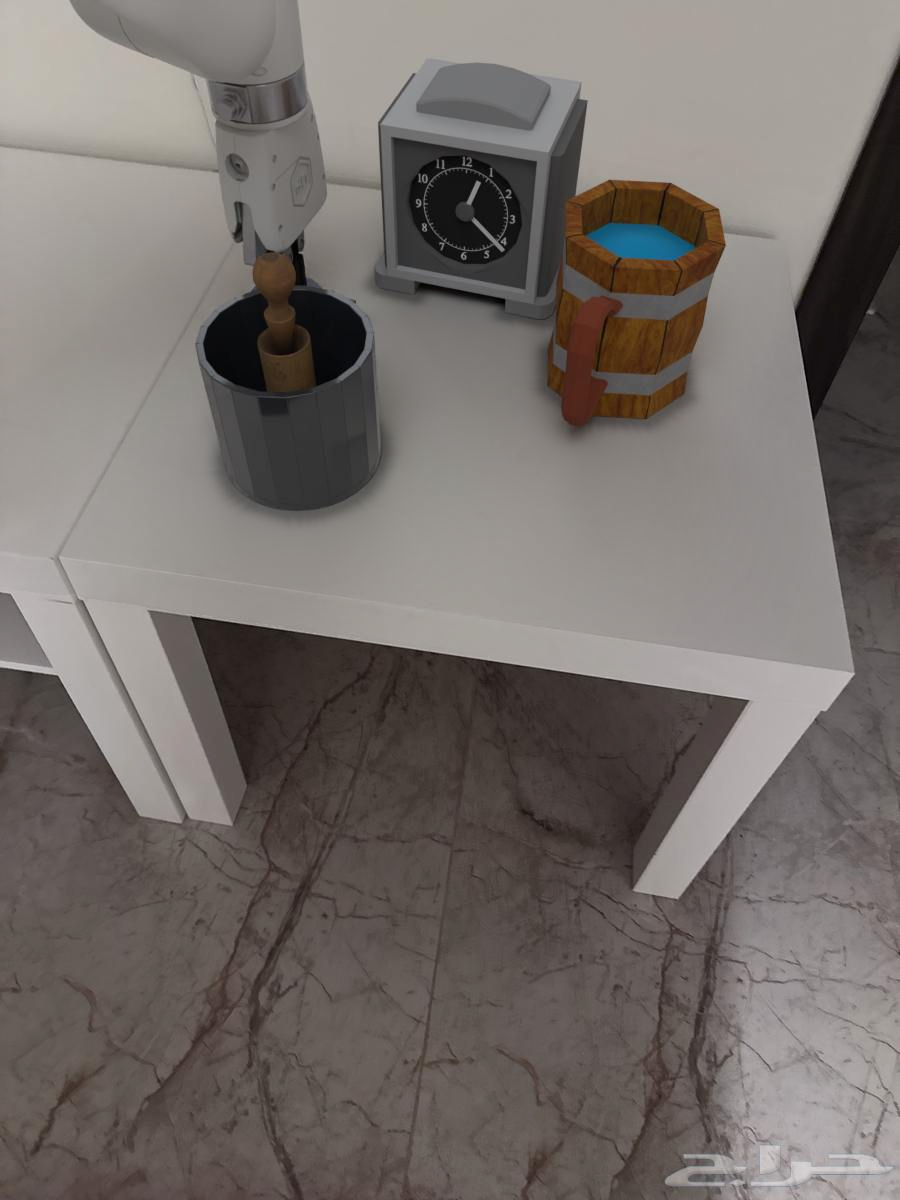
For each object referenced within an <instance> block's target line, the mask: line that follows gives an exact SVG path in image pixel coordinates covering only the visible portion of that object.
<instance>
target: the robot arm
mask: <svg viewBox="0 0 900 1200" xmlns="http://www.w3.org/2000/svg"><path fill="white" fill-rule="evenodd" d="M69 3H70V5H71V7H72V8H73V10H74V11H75V13H76V14H77V16H78V18H80V19H81V20H82V22H83V23H84V24H85V25H86V26H87V27H89V28H90V29H91V30H92V31H94V32H95V33H96V34H97V35H99V36H101V37H102V38H104V39H106V40H108V41H110V42H112V43H114V44H118V45H119V46H122V47H124V48H126V49H129V50H131V51H134V52H136V53H139V54H142V55H144V56H147V57H150V58H152V59H156V60H158V61H161V62H164V63H166V64H168V65H171V66H172V67H173V66H174V67H177V68H179V69H181V70H184V71H186V72H187V73H191V74H193V75H195V76H198V77H199V78H203V79H205V84H206V88H207V93H208V98H209V104H210V109H211V113H212V116H213V117H214V119H215V123H214V126H215V127H214V129H215V147H216V160H217V169H218V177H219V178H218V179H219V186H220V193H221V200H222V205H223V210H224V216H225V220H226V224H227V228H228V231H229V234H230V237H231V239H232V241H233V242H234V243H235V244H241V243H242V251H243V253H242V254H243V263H244V265H247V266H251V267H253V266H254V264H255V262H256V260H257V259H258V258H259V257H260V256H262V255H264V254H266V253H271V252H275V253H280V254H283V255H284V256H286V257H287V258H288V259H289V260H290V261H291V262H292V264H293V266H294V268H295V272H296V281H295V285H298V286H307V281H306V278H307V274H306V267H305V259H304V253H302V252H303V251H304V249H305V245H306V244H305V243H306V242H305V240H306V239H305V229H306V228H307V227H308V225H309V224H310V223H311V222H312V220H313V219H314V218H315V217H316V216H317V214H318V213H319V212H320V210H321V209H322V207H323V206H324V204H325V203H326V200H327V197H328V186H327V178H326V177H327V176H326V170H325V169H326V168H325V162H324V156H323V150H322V144H321V138H320V133H319V127H318V122H317V117H316V113H315V109H314V106H313V102H312V99H311V96H310V92H309V89H308V82H307V73H306V63H305V55H304V47H303V45H304V44H303V37H302V36H303V35H302V29H301V28H302V27H301V18H300V11H299V9H300V8H299V2H298V0H69Z"/></svg>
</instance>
